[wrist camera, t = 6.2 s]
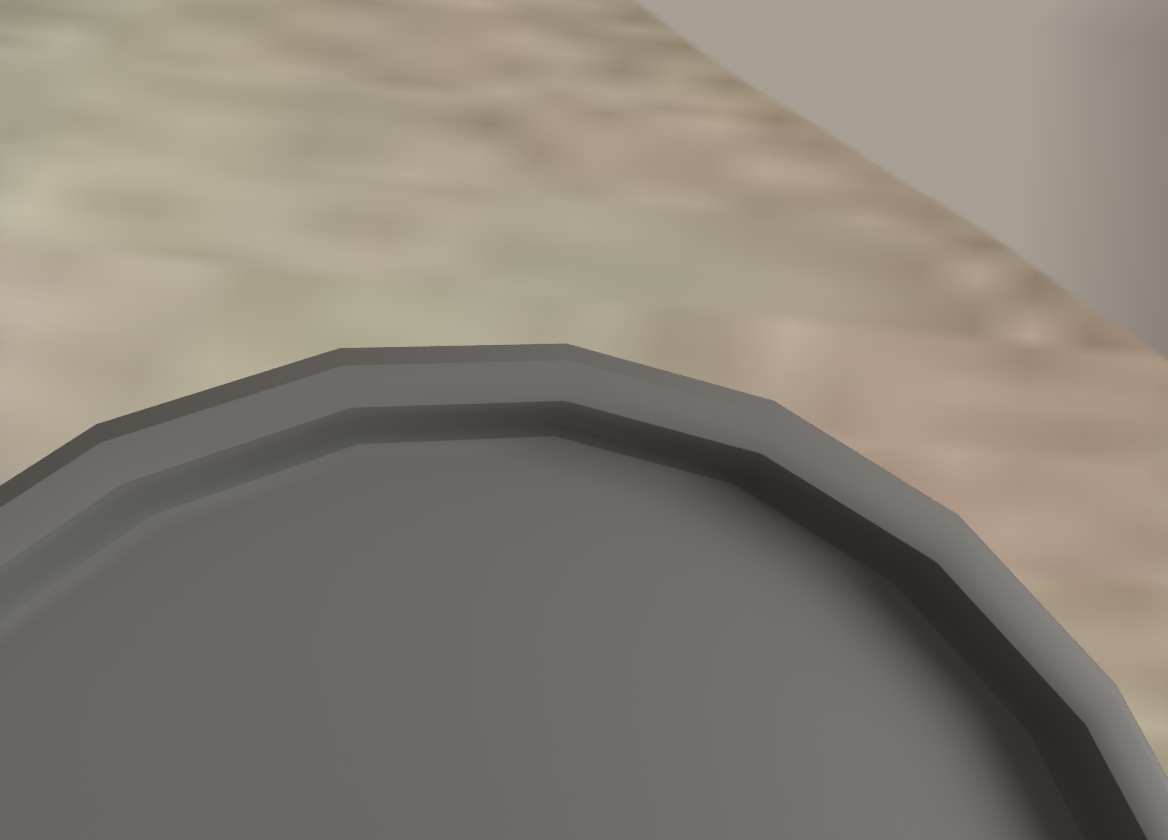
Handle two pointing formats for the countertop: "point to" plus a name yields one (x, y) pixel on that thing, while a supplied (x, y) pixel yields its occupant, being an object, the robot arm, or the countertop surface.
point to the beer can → (526, 624)
